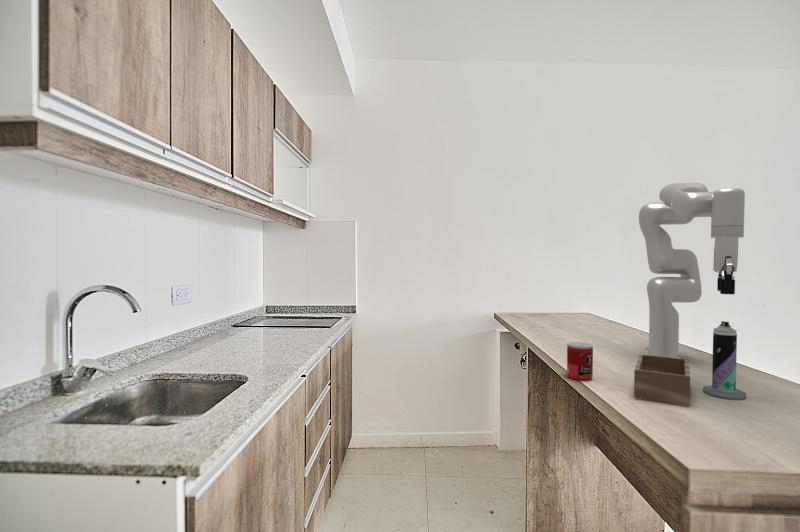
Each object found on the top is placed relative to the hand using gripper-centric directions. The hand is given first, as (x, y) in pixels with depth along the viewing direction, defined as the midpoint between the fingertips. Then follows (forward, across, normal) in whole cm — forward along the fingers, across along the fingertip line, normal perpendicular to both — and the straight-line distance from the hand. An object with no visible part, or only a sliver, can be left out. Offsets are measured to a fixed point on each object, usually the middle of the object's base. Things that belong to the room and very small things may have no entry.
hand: (725, 292), depth 125 cm
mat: (+29, 0, 0) cm, 29 cm away
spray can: (+28, 0, 0) cm, 29 cm away
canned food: (+30, +4, -38) cm, 49 cm away
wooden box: (+29, +7, -15) cm, 34 cm away
